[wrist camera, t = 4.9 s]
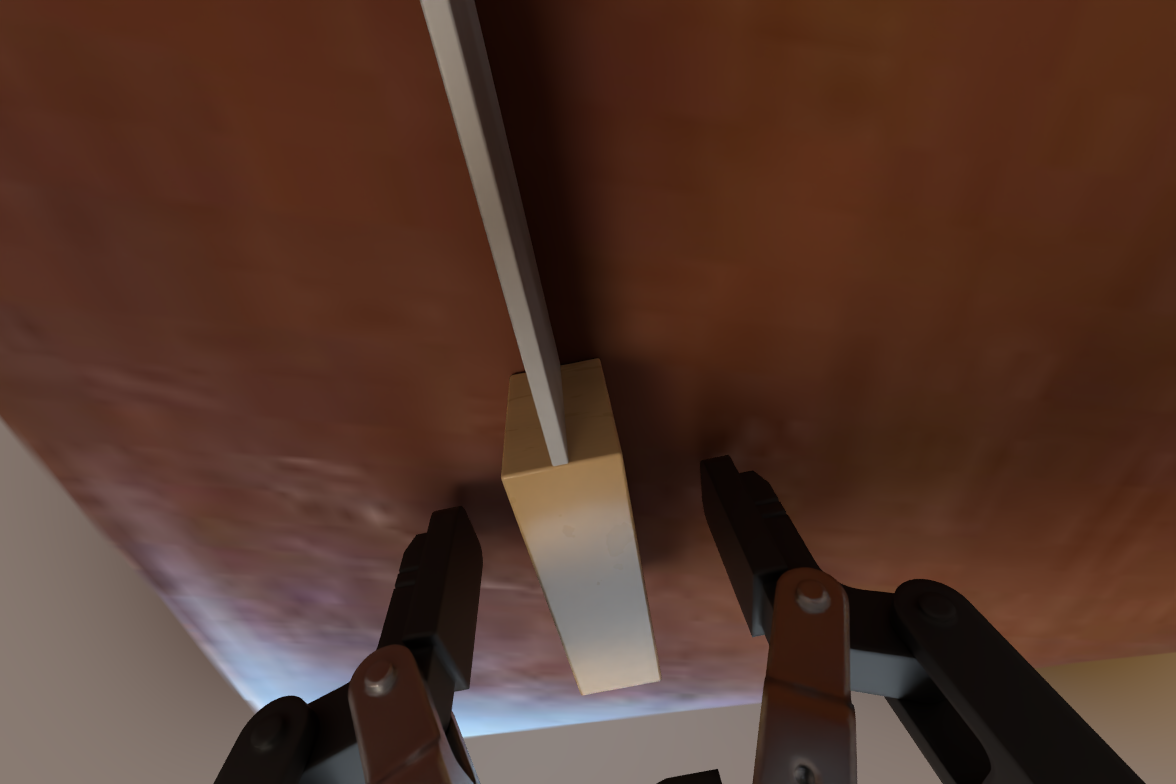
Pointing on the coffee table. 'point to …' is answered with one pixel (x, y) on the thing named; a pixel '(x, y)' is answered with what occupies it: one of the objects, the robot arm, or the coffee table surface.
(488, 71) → the knife
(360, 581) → the coffee table surface
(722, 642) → the coffee table surface
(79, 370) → the coffee table surface
